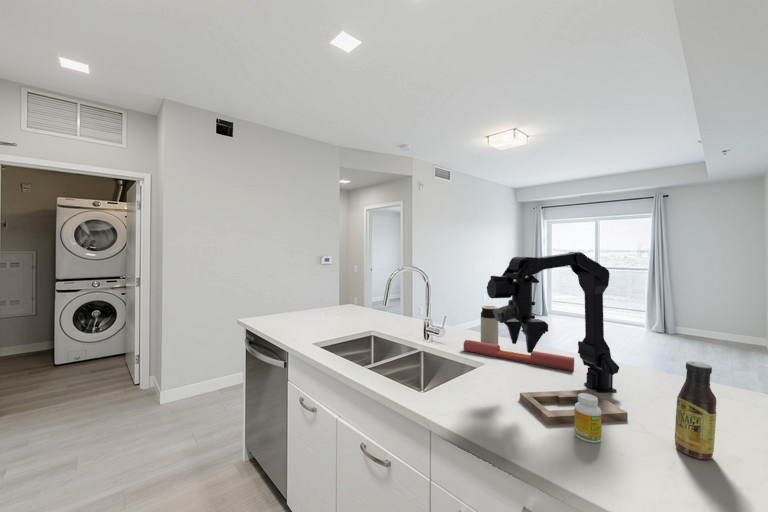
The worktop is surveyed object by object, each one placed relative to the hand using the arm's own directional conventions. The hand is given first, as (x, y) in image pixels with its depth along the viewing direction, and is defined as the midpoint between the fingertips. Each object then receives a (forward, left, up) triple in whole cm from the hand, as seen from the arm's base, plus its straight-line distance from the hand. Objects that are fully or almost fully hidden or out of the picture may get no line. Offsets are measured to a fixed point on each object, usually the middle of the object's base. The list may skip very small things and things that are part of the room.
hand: (521, 348), depth 99 cm
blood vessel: (-14, -31, -15) cm, 37 cm away
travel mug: (-13, -52, -15) cm, 56 cm away
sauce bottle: (-23, +31, -15) cm, 41 cm away
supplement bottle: (-4, +23, -15) cm, 28 cm away
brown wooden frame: (-9, +10, -14) cm, 20 cm away
